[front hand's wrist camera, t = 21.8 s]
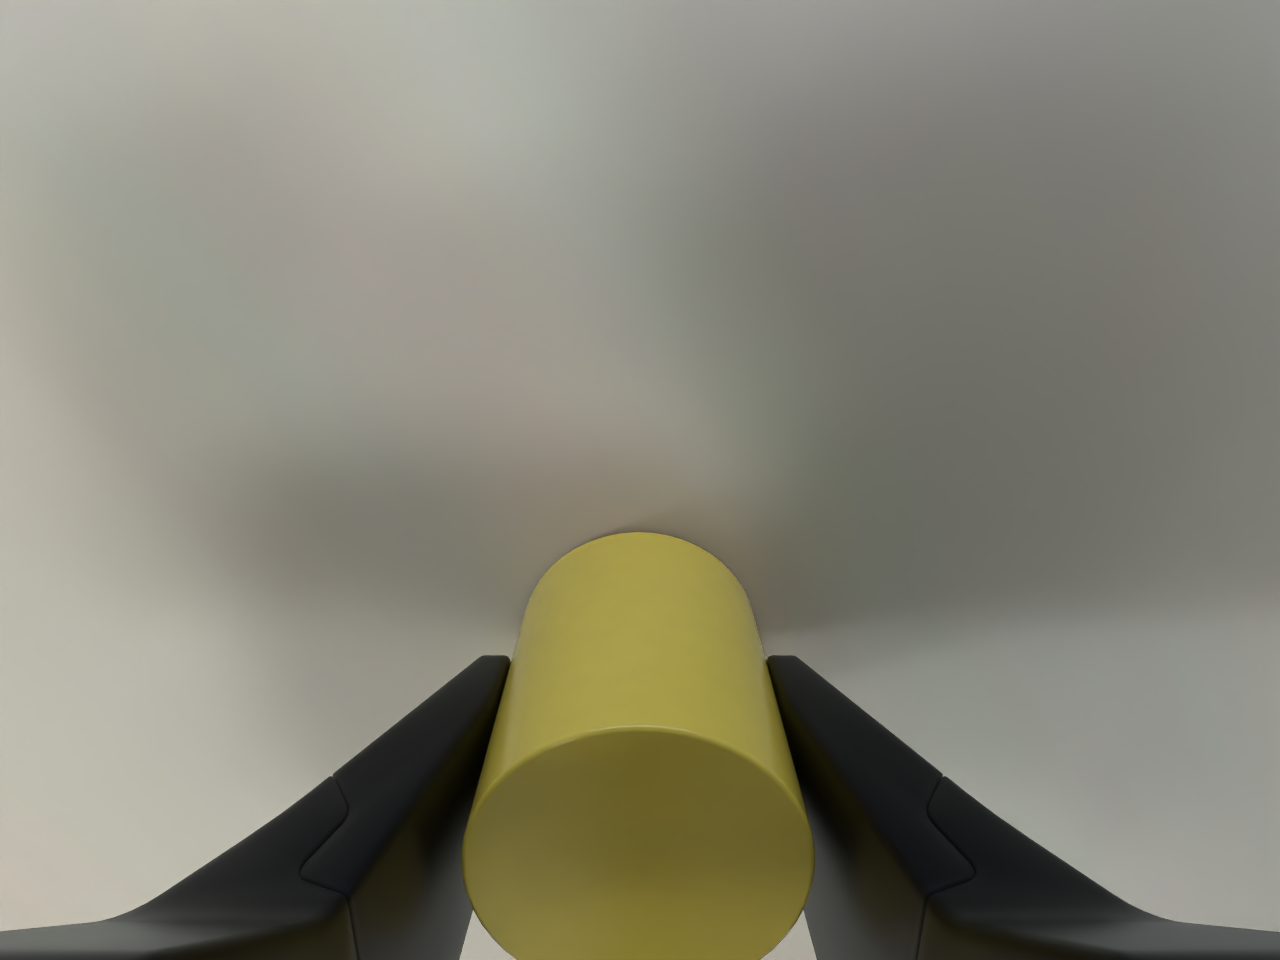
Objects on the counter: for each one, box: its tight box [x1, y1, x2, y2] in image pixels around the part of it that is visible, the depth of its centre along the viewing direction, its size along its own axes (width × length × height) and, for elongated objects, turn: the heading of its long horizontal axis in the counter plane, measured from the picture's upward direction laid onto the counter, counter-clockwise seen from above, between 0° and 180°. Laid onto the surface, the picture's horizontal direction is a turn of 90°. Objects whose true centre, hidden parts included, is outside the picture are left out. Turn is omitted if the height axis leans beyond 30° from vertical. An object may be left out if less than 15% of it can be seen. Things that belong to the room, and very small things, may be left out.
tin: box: [461, 532, 815, 960], centre depth 10 cm, size 4×4×5 cm
